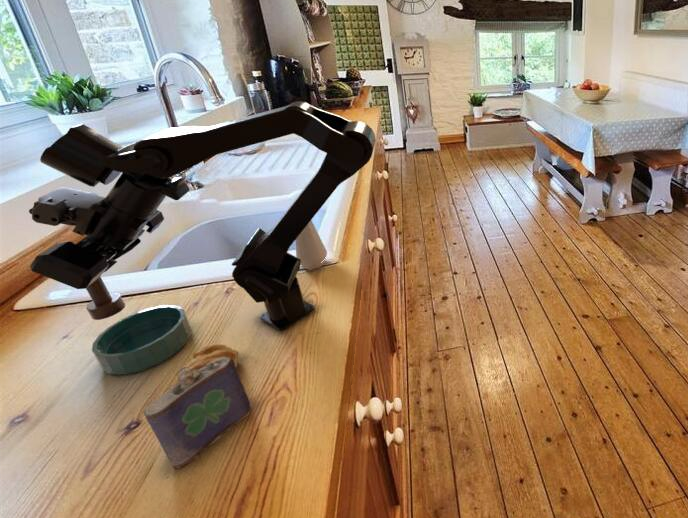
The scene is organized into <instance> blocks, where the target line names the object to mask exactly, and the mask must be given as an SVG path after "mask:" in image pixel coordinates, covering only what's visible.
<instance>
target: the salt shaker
mask: <svg viewBox="0 0 688 518" xmlns="http://www.w3.org/2000/svg"><path fill="white" fill-rule="evenodd" d="M312 220H313V219H312ZM312 220H311V221H310V222H309V223H308V225H307V226H306V227H305V228H304V230H303V231H302V232H301V233H300V235H299V236H298V237H297V238H296V240H295V257H297V258H299V259H300V260H301V263H300V266H301V265H302V266H301V267H302V268H303V269H304V270H309V271H312V270H313V271H314V270H316V269H318V268H321V267H322V266H324V264H325V262H326V259H327V256H328V251H327V249H326V247H325V245H324V242H323V241H322V238H321V236H320V235H319V233H318V230H317V228H316V227H315V224H314V223H313V221H312ZM325 257H326V258H325ZM324 259H325V260H324ZM323 260H324V261H323ZM322 261H323V262H322ZM321 262H322V263H321Z"/></svg>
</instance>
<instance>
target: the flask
mask: <svg viewBox="0 0 688 518" xmlns="http://www.w3.org/2000/svg"><path fill="white" fill-rule="evenodd" d="M185 368H187V365H184V366H181V367H180V368H178V370H177V372H174V376H176V375H177V377H178V379H179V380H178V381H177V383H176V384H175V385H173V386H172V387H170V388H169V389H168V390H167V391H165V392H164V393H162V394H161V395H160V396H158V397H157V398H155V400H153V402H151V403H150V404H149V405H147V407H146V408H145V410H144V412H143V415H144V417H145V419H146V422H147V423H148V424H149V426H150V428H151V429H152V431H153V433H154V435H155V438H156V439H157V441H158V442H159V444H160V446H161V448H162V450H163V452H164V454H165V455H166V458H167V459H168V461H169V464H170V465H171V466H172V467H173V468H176V469H180V468H182V467H184V466H186V465H188V464H189V463H192V461H194V460H196V459H197V458H198V457H199V455H200V454H201V453H203V452H204V451H205V450H206V449H208V447H210V446H212V445H213V444H215V443H216V442H217V441H218V440H220V439H221V437H222V435H224V433H226V432H227V431H230V430H231V428H232V427H233V426H234V425H236V424H239V423H240V421H241V420H243V419H244V418H246V417H247V416H249V414H250V412H251V410H252V408H253V407H251V402H250V399H249V396H248V395H247V392H246V389H245V387H244V384H243V382H242V379H241V377H240V374H239V372H238V368H237V367H236V366H235V363H234V360H233V359H231V358H229V357H220V358H219V359H217V360H215V361H212V362H210V363H209V364H207V365H206V366H204V367H202V368H200V369H199V370H191V371H189V370H188V369H189V368H187V369H185ZM184 369H185V370H184ZM178 372H179V373H178Z"/></svg>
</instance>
